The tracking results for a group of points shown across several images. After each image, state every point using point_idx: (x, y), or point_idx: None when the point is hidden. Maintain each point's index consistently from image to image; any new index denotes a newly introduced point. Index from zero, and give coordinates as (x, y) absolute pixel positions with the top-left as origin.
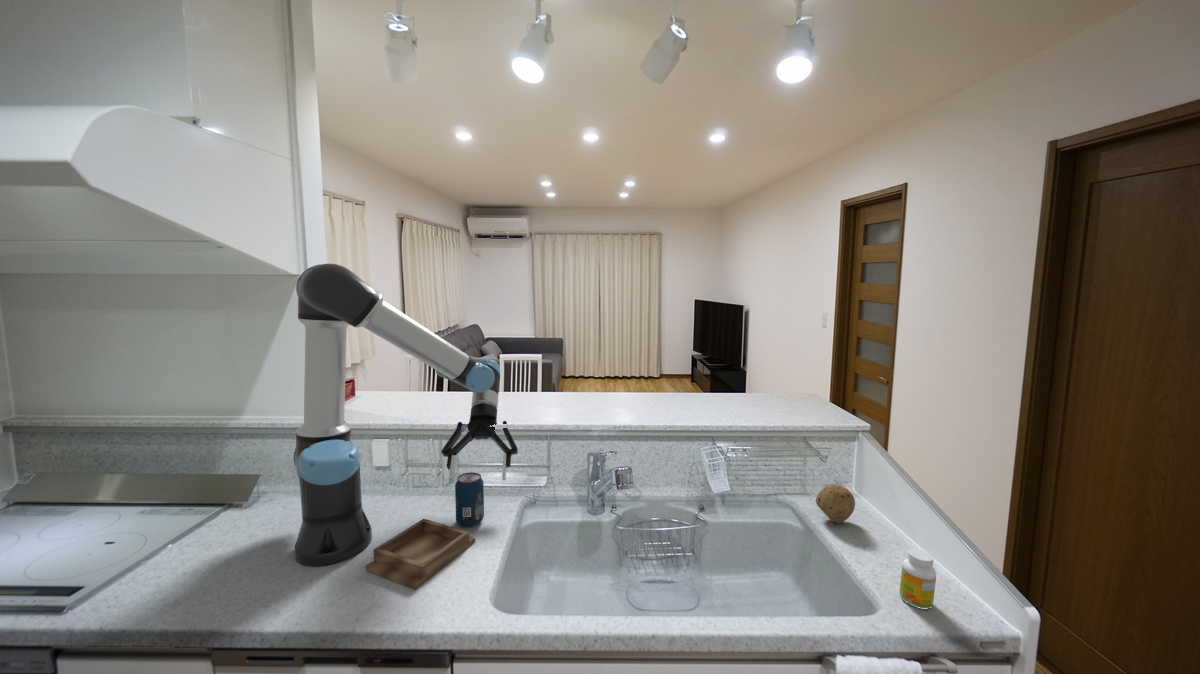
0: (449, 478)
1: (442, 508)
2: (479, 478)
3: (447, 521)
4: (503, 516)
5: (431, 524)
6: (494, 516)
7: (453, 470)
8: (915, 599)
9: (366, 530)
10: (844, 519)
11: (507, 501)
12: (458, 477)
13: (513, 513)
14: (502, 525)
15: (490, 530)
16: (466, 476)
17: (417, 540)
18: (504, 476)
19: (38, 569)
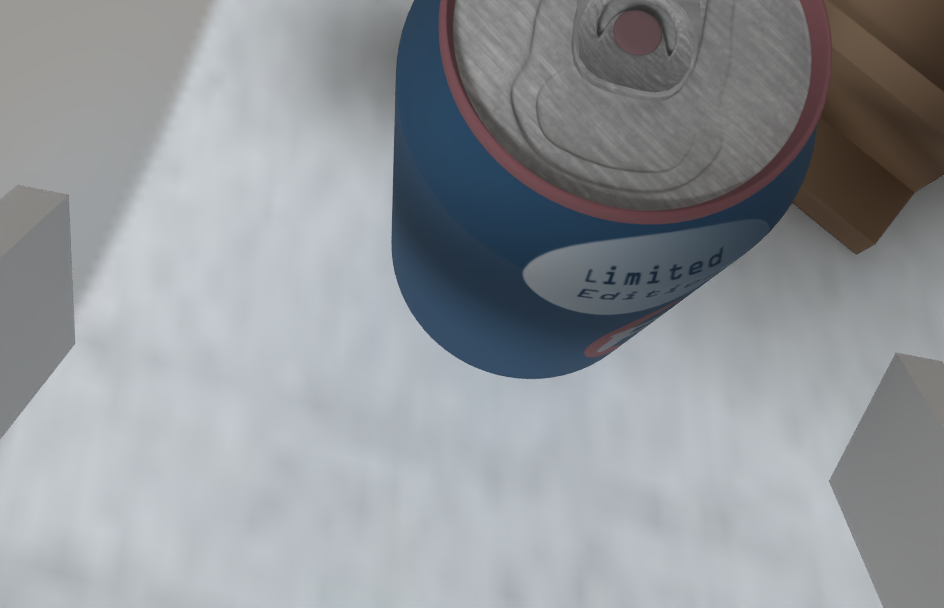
0: (934, 366)
1: (801, 600)
2: None
3: (723, 323)
4: (201, 266)
5: (877, 46)
6: (288, 290)
7: (937, 509)
8: None
9: None
10: None
11: (107, 578)
12: (818, 87)
13: (92, 295)
14: (234, 113)
15: (347, 67)
16: (683, 153)
17: (925, 25)
18: (22, 190)
19: None
